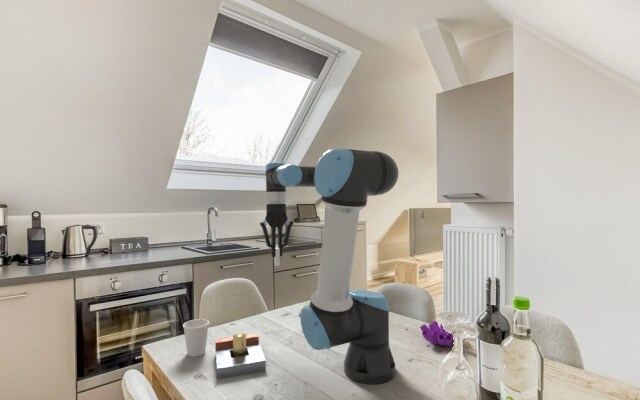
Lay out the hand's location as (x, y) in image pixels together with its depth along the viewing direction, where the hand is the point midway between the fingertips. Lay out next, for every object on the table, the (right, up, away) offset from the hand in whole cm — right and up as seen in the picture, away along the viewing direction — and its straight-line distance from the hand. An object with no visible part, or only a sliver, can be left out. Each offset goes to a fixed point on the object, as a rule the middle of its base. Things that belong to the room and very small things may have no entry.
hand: (277, 265), depth 126 cm
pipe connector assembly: (+59, -26, -9) cm, 65 cm away
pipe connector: (+13, -26, +6) cm, 30 cm away
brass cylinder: (-9, -26, -21) cm, 35 cm away
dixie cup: (-25, -27, -14) cm, 40 cm away
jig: (-9, -27, -21) cm, 35 cm away
